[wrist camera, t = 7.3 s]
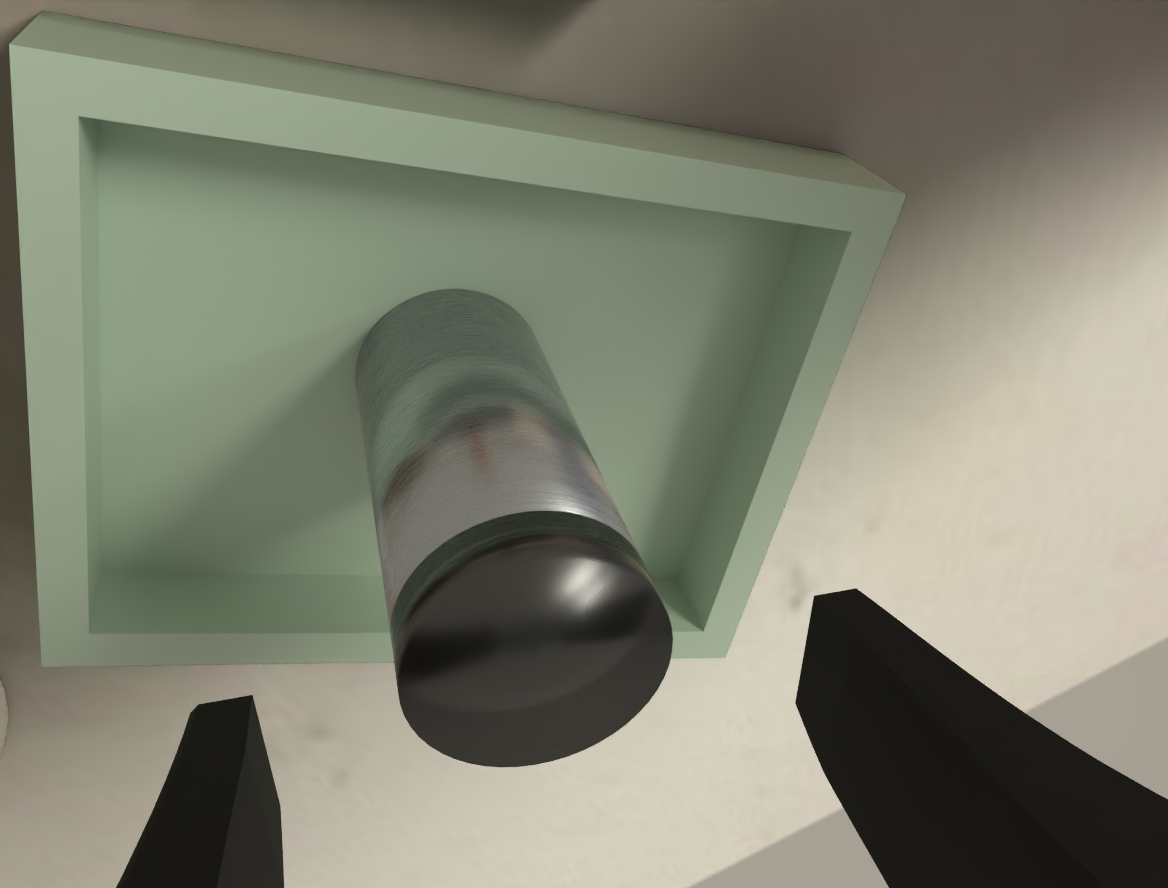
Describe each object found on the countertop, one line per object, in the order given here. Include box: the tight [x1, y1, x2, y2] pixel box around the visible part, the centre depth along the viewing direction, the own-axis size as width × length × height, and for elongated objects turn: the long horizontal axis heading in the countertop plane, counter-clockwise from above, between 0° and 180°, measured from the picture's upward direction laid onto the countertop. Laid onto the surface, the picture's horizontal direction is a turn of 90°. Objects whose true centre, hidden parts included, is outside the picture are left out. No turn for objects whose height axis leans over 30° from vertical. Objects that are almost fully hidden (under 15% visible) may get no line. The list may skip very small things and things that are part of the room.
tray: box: [9, 11, 906, 667], centre depth 19 cm, size 14×11×2 cm
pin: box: [355, 289, 673, 767], centre depth 16 cm, size 4×4×8 cm
